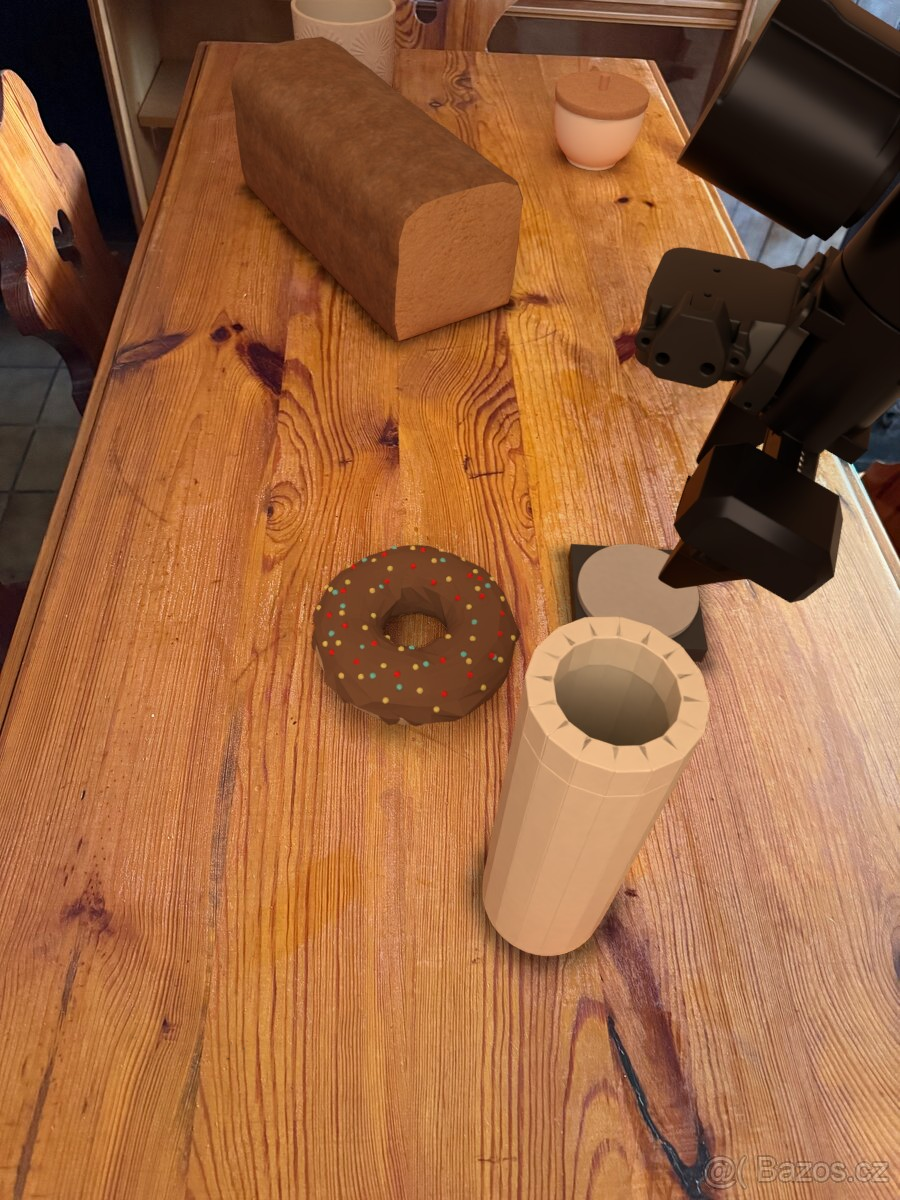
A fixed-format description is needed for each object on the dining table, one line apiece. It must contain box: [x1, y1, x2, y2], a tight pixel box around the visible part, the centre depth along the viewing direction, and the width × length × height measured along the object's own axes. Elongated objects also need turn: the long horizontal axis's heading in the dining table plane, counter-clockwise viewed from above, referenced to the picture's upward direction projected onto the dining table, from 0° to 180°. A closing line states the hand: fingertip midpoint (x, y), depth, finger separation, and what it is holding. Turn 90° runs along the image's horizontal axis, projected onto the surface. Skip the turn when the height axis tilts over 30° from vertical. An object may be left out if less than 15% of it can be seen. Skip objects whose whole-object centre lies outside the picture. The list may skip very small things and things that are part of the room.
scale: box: [567, 543, 709, 663], centre depth 64 cm, size 9×9×2 cm
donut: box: [311, 542, 522, 727], centre depth 59 cm, size 14×14×5 cm
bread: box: [230, 37, 524, 342], centre depth 87 cm, size 14×34×14 cm, turn 33°
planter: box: [290, 0, 397, 88], centre depth 109 cm, size 12×12×11 cm
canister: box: [482, 617, 711, 957], centre depth 43 cm, size 7×7×22 cm
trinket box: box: [553, 70, 651, 172], centre depth 103 cm, size 11×11×9 cm
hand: (686, 520), depth 47 cm, fingers open, 9 cm apart
